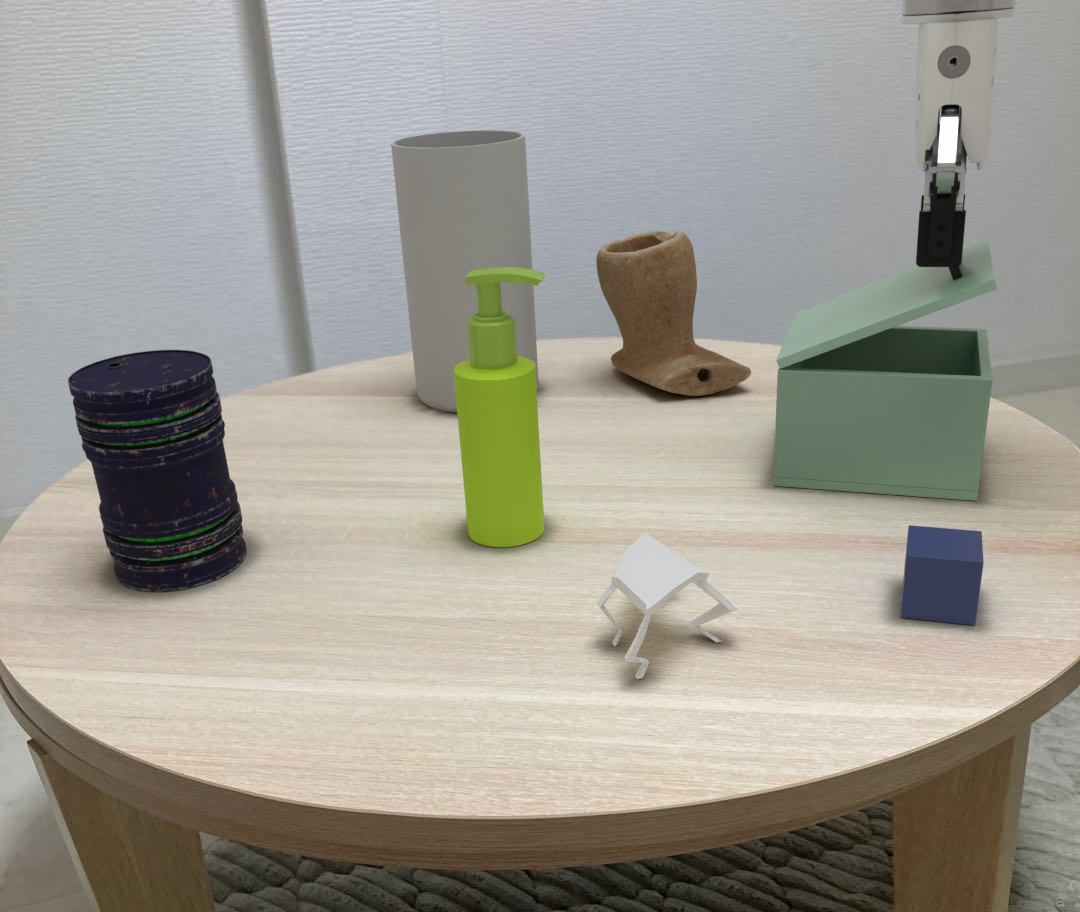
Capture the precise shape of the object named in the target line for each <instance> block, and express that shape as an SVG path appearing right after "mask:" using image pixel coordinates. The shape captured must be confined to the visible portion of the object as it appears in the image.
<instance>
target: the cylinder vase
mask: <svg viewBox="0 0 1080 912" xmlns="http://www.w3.org/2000/svg"><path fill="white" fill-rule="evenodd" d="M390 149H391V156H392V167H393V176H394V186H395V194H396V195H395V196H396V204H397V205H396V206H397V215H398V223H399V235H400V244H401V252H402V254H401V255H402V263H403V273H404V281H405V283H404V284H405V291H406V301H407V309H408V311H407V312H408V320H409V330H410V339H411V350H412V357H413V358H412V359H413V368H414V369H413V370H414V379H415V389H416V394H417V396H418V398H419V400H420V401H421V402H422V403H424V404H425V405H427V406H429V407H431V408H433V409H435V410H440V411H445V412H451V413H457V404H456V393H455V381H454V368H455V366H456V365H458V364H459V363H461V362H463V361H466V360H469V359H470V352H469V340H468V328H467V320H468V319H469V318H470V317H472V316H473V315H474V314H475V313H478V303H477V290H476V284H473V285H466V280H465V277H466V276H467V274H468V273H469V272H470V271H471V270H479V269H488V268H500V267H516V268H525V269H530V270H533V254H532V238H531V237H532V236H531V235H532V234H531V220H530V219H531V218H530V217H531V216H530V200H529V199H530V198H529V182H528V164H527V163H528V161H527V145H526V133H524V132H520V131H514V130H496V129H494V130H493V129H489V130H488V129H484V130H483V129H481V130H480V129H479V130H477V129H476V130H457V131H456V130H455V131H445V132H444V131H443V132H434V133H425V134H418V135H411V136H406V137H402V138H399V139H395V140H393V141H392V142H391V143H390ZM500 287H501V301H502V311H505V312H507V314H510V315H512V316H513V317H514V319H515V332H516V347H517V356H520V357H525V358H528V359H530V360H532V361H533V362H534V363H535V373H536V390H537V391H538V388H539V382H540V381H539V365H538V364H539V363H538V348H537V347H538V346H537V344H538V343H537V330H536V327H537V326H536V311H535V308H536V307H535V293H534V292H535V291H534V285H531V284H525V283H517V282H503V283H500Z"/></svg>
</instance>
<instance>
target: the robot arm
mask: <svg viewBox="0 0 1080 912" xmlns="http://www.w3.org/2000/svg"><path fill="white" fill-rule="evenodd" d="M1016 1H1017V0H902V4H901V5H902V6H901V22H900V24H901V25H904V24H906V25H914V24H916V25H918V31H917V32H918V34H917V52H916V69H915V70H916V71H915V90H914V91H915V94H914V96H915V97H914V138H915V139H914V141H915V156H916V157H915V160H916V167H917V168H918V169H919V170H920V171H922V172H924V176H925V177H924V191H923V194H922V195H921V199H920V210H919V211H918V212H919V213H918V225H917V226H918V227H917V239H916V241H917V242H916V256H915V264H916V266H919V267H958V266H959V265H960V264H961V262H962V252H963V248H964V239H965V228H966V216H967V210H966V209H965V204H966V203H965V202H966V194H965V188H966V187H965V185H966V175H967V170H968V169H967V160H968V161H969V164H976V169H977V170H978V171H979V170H983V169H985V167H987V165H988V163H989V150H990V140H991V139H990V137H991V128H992V127H991V126H992V117H993V116H992V115H993V103H994V93H995V82H996V70H997V56H998V55H997V54H998V52H997V51H998V19H1002V18H1004V19H1005V18H1010V17H1015V10H1016V8H1015V7H1016ZM930 208H931V211H930Z"/></svg>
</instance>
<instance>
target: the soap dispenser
mask: <svg viewBox="0 0 1080 912" xmlns="http://www.w3.org/2000/svg"><path fill="white" fill-rule="evenodd" d="M546 275H547V273H545V272H542V271H539V270H535V269H532V270H530V269H525V268H516V267H500V268H488V269H479V270H471V271H470V272H469V273H468V274H467V276H466V277H465V280H466V285H473V284H476V290H477V303H478V313H475V314H474V315H473V316H472V317H470V318H469V319H468V320H467V328H468V340H469V352H470V359H469V360H466V361H463V362H461V363H459V364H458V365H456V366H455V368H454V381H455V393H456V404H457V412H456V414H457V424H458V425H457V426H458V436H459V447H460V448H459V449H460V458H461V469H462V481H463V490H464V501H465V512H466V513H465V514H466V524H467V534H468V537H469V538H470V539H471V541H473V542H474V543H477V544H479V545H481V546H485V547H491V548H512V547H517V546H523V545H525V544H529V543H531V542H533V541H535V540H537V539H538V538H540V537H541V536H543V534H544V532H545V517H544V516H545V515H544V513H545V512H544V498H543V497H544V496H543V495H544V494H543V480H542V462H541V445H540V443H541V442H540V428H539V427H540V425H539V409H538V394H537V393H538V389H537V390H536V373H535V363H534V362H533V361H532V360H530V359H528V358H525V357H520V356H517V347H516V332H515V319H514V317H513V316H512V315H510V314H507V312H505V311H502V301H501V287H500V283H503V282H517V283H525V284H531V285H533V286H539V284H540V283H541V282H542V281H543V280H544V279H545V277H546Z"/></svg>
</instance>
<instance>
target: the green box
mask: <svg viewBox="0 0 1080 912" xmlns="http://www.w3.org/2000/svg"><path fill="white" fill-rule="evenodd" d="M992 387H993V372H992V364H991V355H990V347H989V337H988V329H987V328H974V327H973V328H972V327H946V326H945V327H941V326H915V325H914V326H912V325H909V326H907V325H898V326H895V327H893V328H890V329H887V330H885V331H882V332H879V333H876V334H874V335H871V336H868V337H865V338H863V339H860V340H857V341H855V342H852V343H849V344H846V345H844V346H841V347H838V348H836V349H833V350H830V351H827V352H825V353H822V354H819V355H817V356H814V357H811V358H808V359H806V360H803V361H800V362H797V363H795V364H792V365H789V366H787V367H784V368H781V369H780V368H779V367H778V369H777V378H776V402H775V403H776V404H775V426H774V430H775V431H774V448H773V449H774V451H773V474H772V475H773V477H772V486H773V487H785V488H798V489H811V490H825V491H838V492H852V493H864V494H866V493H867V494H876V495H877V494H879V495H890V496H891V495H892V496H894V495H895V496H906V497H918V498H934V499H947V500H961V501H971V502H972V501H973V502H977V501H978V498H979V497H978V496H979V488H980V483H981V482H980V480H981V473H982V467H983V466H982V465H983V458H984V449H985V442H986V433H987V427H988V420H989V419H988V418H989V411H990V403H991V396H992Z"/></svg>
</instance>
